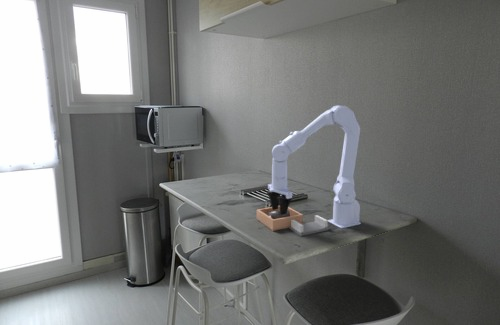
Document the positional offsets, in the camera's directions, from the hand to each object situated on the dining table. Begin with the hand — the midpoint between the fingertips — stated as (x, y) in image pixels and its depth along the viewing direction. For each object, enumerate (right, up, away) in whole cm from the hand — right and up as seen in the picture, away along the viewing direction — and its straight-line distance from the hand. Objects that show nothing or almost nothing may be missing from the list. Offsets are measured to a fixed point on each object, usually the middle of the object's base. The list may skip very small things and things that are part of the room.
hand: (279, 211), depth 126 cm
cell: (0, -2, 0) cm, 2 cm away
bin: (0, -4, +1) cm, 4 cm away
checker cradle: (+10, -6, -6) cm, 13 cm away
